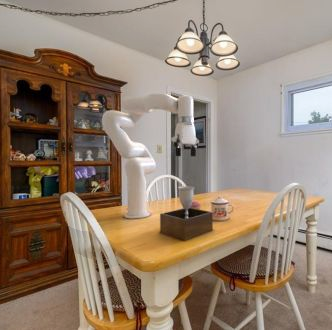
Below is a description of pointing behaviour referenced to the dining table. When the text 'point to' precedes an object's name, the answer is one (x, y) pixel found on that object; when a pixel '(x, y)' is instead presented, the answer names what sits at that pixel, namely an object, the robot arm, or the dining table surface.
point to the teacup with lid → (220, 209)
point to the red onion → (195, 205)
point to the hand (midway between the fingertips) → (186, 156)
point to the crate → (186, 223)
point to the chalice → (186, 197)
